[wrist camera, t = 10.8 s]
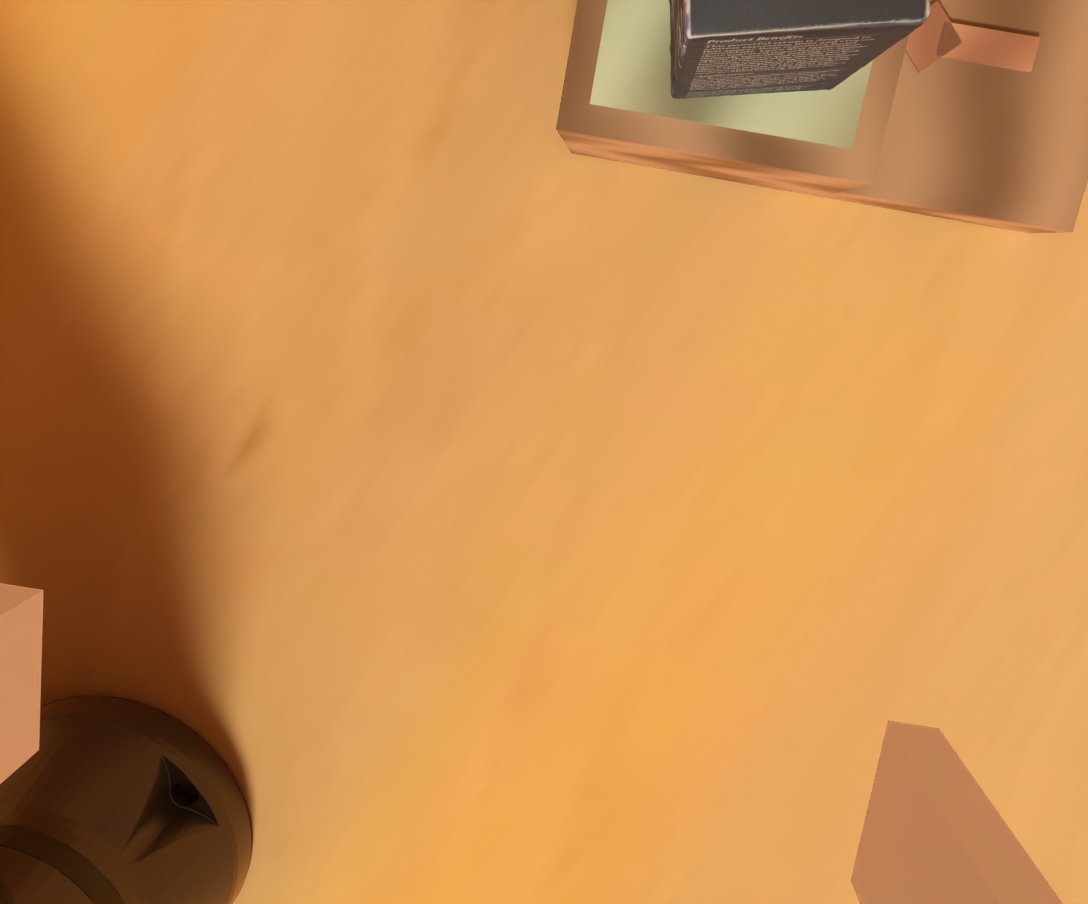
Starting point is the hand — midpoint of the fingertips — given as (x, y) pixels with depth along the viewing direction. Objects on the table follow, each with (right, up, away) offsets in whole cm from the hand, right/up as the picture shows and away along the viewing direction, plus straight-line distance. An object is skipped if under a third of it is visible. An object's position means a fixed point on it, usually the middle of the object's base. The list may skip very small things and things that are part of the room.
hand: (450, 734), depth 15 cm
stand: (+14, +21, +25) cm, 36 cm away
